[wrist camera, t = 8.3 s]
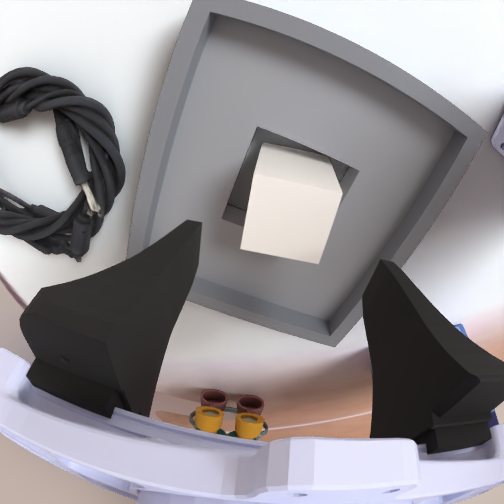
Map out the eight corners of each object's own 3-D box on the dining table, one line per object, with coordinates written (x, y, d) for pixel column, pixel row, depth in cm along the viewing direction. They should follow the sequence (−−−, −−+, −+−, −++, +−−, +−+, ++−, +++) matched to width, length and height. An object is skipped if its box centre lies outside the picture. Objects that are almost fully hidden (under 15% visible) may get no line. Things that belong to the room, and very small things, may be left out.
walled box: (458, 117, 15) (487, 132, 12) (331, 314, 25) (334, 347, 22) (213, 1, 13) (197, -11, 10) (142, 247, 23) (124, 276, 20)
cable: (-27, 173, 21) (-55, 194, 17) (-1, 39, 13) (-40, 47, 10) (95, 261, 25) (71, 294, 21) (157, 119, 18) (126, 137, 14)
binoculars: (272, 387, 36) (276, 431, 26) (260, 442, 37) (260, 490, 27) (198, 375, 36) (180, 416, 26) (192, 431, 37) (176, 477, 27)
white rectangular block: (328, 156, 18) (342, 193, 13) (312, 213, 20) (318, 264, 16) (262, 141, 18) (253, 173, 13) (251, 200, 20) (240, 248, 16)
